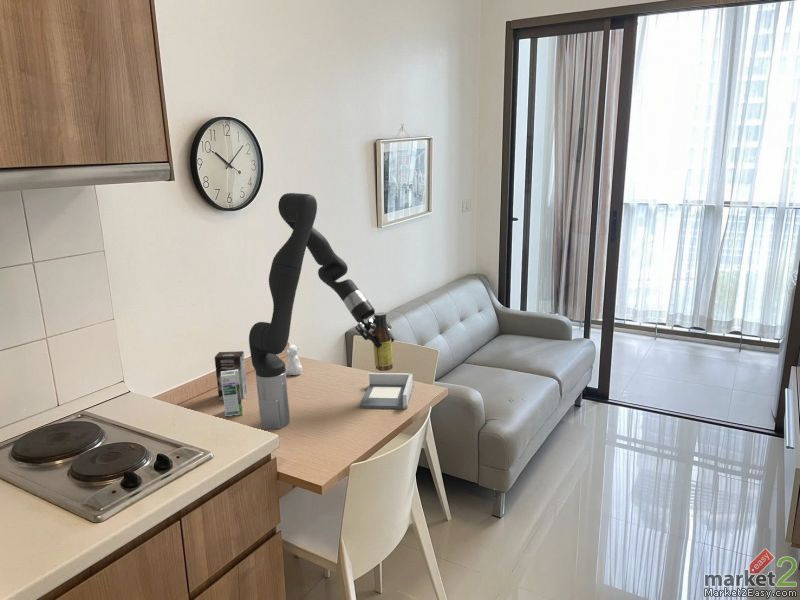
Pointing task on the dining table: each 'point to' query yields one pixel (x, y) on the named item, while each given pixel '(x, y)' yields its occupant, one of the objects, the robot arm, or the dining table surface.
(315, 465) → the dining table surface
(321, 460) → the dining table surface
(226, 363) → the coffee box
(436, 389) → the dining table surface
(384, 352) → the sauce bottle
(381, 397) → the grey tray
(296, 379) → the dining table surface
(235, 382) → the syrup box
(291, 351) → the sitting furry creature
